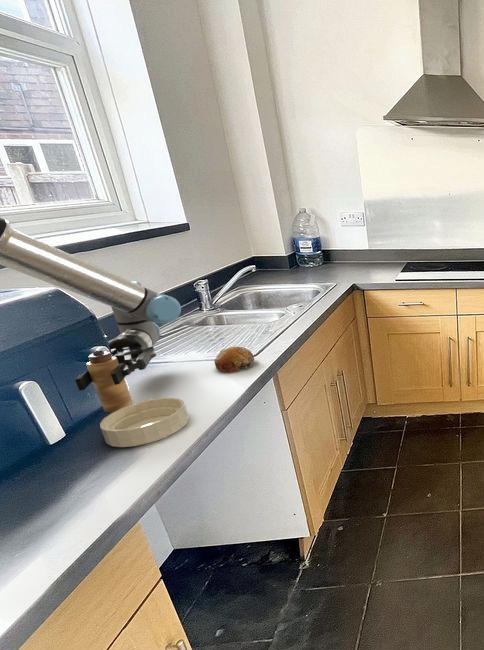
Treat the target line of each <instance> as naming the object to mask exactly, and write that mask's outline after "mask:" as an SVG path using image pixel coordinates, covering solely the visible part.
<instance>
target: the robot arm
mask: <svg viewBox="0 0 484 650" xmlns="http://www.w3.org/2000/svg"><path fill="white" fill-rule="evenodd" d="M0 265H1V266H3V267H6V268H8V269H11V270H13V271H16V272H18V273H21V274H24V275H27V276H29V277H31V278H34V279H37V280H40V281H41V282H45V283H48V284H50V285H53V286H55V287H59V288H61V289H63V290H66V291H69V292H72V293H75V294H77V295H80V296H83V297H85V298H87V299H90V300H93V301H95V302H98V303H100V304H104V305H106V306H109V307H110V308H111V311H112V313H113V314H114V318H115V321H116V325H117V327H118V330H119V335H118V336H117V337H115V338H114V339H113V340H112V341H110V343H108V345H109V347H110V349H111V352H112V354H113V356H115V357H117V360H118V363H119V366H118V367H117V368H116V369H115V370H114V371H113V372H112V373H111V376H112V378H113V381H114V384H115V385H117V384H120V383H121V381H122V380H123V379H125V378H126V377H127V376H129V375H131V374H132V373H134V372H135V371H136V370H137V369H138V370H139V371H143V370H145V369H146V368H147V367H148V365H149V364H150V362H151V360H152V359H153V358H155V357H156V356H157V354H156V351H155V348H154V345H155V344H156V343H158V341H159V339H160V336H161V327H160V326H159V325H158V324H170V323H174V321H176V320H178V318H180V315H181V313H182V306H181V303H180V302H179V301H178V300H177V299H176V298H175V297H173V296H170V295H168V294H162V293H160V292H159V293H158V292H156V291H154V290H152V289H150V288H147V287H145V286H143V285H142V283H141V282H139V281H138V280H137V281H136V280H129V279H127V278H125V277H122V276H120V275H118V274H116V273H113V272H111V271H109V270H107V269H104V268H102V267H100V266H98V265H96V264H93V263H90V262H89V261H87V260H84V259H83V258H80V257H78V256H75V255H73V254H71V253H68V252H66V251H64V250H61V249H59V248H57V247H55V246H53V245H50V244H48V243H46V242H44V241H42V240H39V239H37V238H35V237H32V236H30V235H28V234H26V233H23V232H21V231H19V230H17V229H14V228H13V227H12V226H11V225H10V223H9V220H7V219H4V218H2V217H0ZM74 381H75V384H76V386H77V388H78V391H80V392H81V391H84V390H86V389H87V388H88V387H89V385H91V383H93V382H92V379H91V377H90V374H89V371H86V372H84V373H83V374H81V375H79V376H78V377H77V378H74Z"/></svg>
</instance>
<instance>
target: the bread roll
mask: <svg viewBox="0 0 484 650" xmlns="http://www.w3.org/2000/svg"><path fill="white" fill-rule="evenodd" d="M213 362H214V366H215V368H216V370H217V371H218V372H220V373H222V374H232V373H238V372H242V371H244V370H245V371H246V370H247V369H249V368H251V367H252V366H253V365H254V362H255V357H254V354H253V352H252V351H251V350H250V349H248V348H246V347H245V346H244V347H243V346H236V345H235V346H229V347H227V348H224V349H221V350H220V352H219V353H218V354H217V355H216V357H215V358H214V361H213Z"/></svg>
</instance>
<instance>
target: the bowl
mask: <svg viewBox="0 0 484 650" xmlns="http://www.w3.org/2000/svg"><path fill="white" fill-rule="evenodd" d="M189 419H190V416H189V413H188V410H187V407H186V404H185V401H184V400H183V399H180V398H178V397H159V398H153V399H147V400H143V401H139V402H135V403H133V404H132V405H130V406H127V407H124V408H121V409H119V410H117V411H115V412H110V414H108V415H107V416H105V417H104V418H102V420H101V421H100V423H99V426H100V430H101V433H102V435H103V438H104V441H105V443H106V444H107V445H108V446H111V447H115V448H127V447H129V448H130V447H137V446H143V445H147V444H151V443H154V442H157V441H159V440H162V439H164V438H167V437H169V436H171V435H173V434H174V433H176V432H178V431H179V430H181V429H182V428H183V427H184V426H185V425H186V424H188V422H189Z"/></svg>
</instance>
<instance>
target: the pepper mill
mask: <svg viewBox="0 0 484 650" xmlns="http://www.w3.org/2000/svg"><path fill="white" fill-rule="evenodd" d="M88 355H89V356H88V358H89V360H90V361H89V362H87V363H86V366H87V369H88V371H89V374H90V377H91V379H92V382H91V383H92V384H93V387H94V389H95V391H96V394H97V397H98V399H99V402H100V404H101V407H102V410H103V412H105V413H113V412H115V411H117V410H119V409H121V408H124V407H127V406H130V405H132V404H134V401H133V398H132V396H131V393H130V391H129V388H128V385H127V383H126V380H125V378H124V379H123V380H122V381H121V383H120V384H117V385H115V384H114V381H113V378H112V376H111V373H112V372H113V371H114V370H115V369H116V368H117V367H118V366H119V363H118V360H117V357H115V356H111V354H110V352H109V351H106V350H104V351H103V350H101V349H97V350H94V352H93V353H90V354H88Z"/></svg>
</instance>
